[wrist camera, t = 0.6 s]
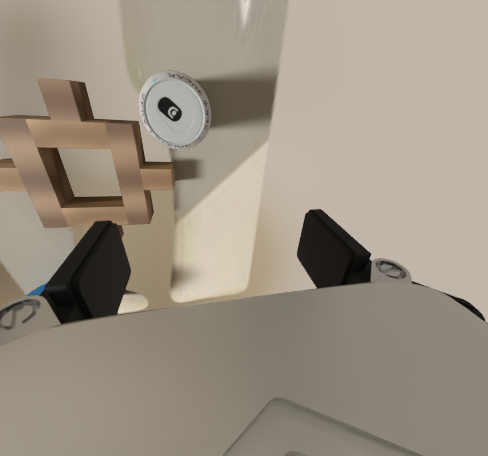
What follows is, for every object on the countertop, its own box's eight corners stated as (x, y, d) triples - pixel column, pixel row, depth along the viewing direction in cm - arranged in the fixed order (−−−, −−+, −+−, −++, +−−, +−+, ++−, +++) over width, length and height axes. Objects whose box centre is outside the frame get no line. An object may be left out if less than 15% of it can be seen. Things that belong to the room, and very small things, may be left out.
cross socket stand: (-42, 72, 24) (-81, 68, 21) (165, 89, 28) (162, 88, 25) (39, 237, 35) (23, 252, 32) (180, 231, 40) (178, 243, 36)
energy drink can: (187, 140, 32) (184, 167, 20) (150, 109, 29) (118, 117, 17) (213, 105, 30) (227, 111, 18) (176, 69, 28) (162, 45, 15)
